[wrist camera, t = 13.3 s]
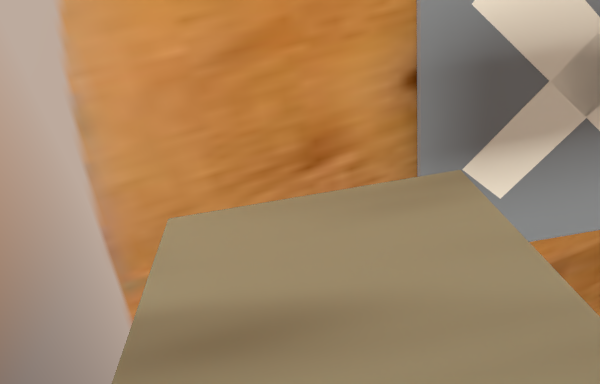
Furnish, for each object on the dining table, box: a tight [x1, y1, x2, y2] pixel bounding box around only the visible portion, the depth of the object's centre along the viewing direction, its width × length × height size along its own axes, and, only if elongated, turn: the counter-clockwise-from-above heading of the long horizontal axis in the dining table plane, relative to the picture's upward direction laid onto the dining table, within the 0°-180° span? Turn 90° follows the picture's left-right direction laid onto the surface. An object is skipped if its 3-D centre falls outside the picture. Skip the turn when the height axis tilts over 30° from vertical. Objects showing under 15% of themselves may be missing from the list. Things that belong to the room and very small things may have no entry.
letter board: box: [417, 0, 600, 242], centre depth 17 cm, size 16×14×1 cm
